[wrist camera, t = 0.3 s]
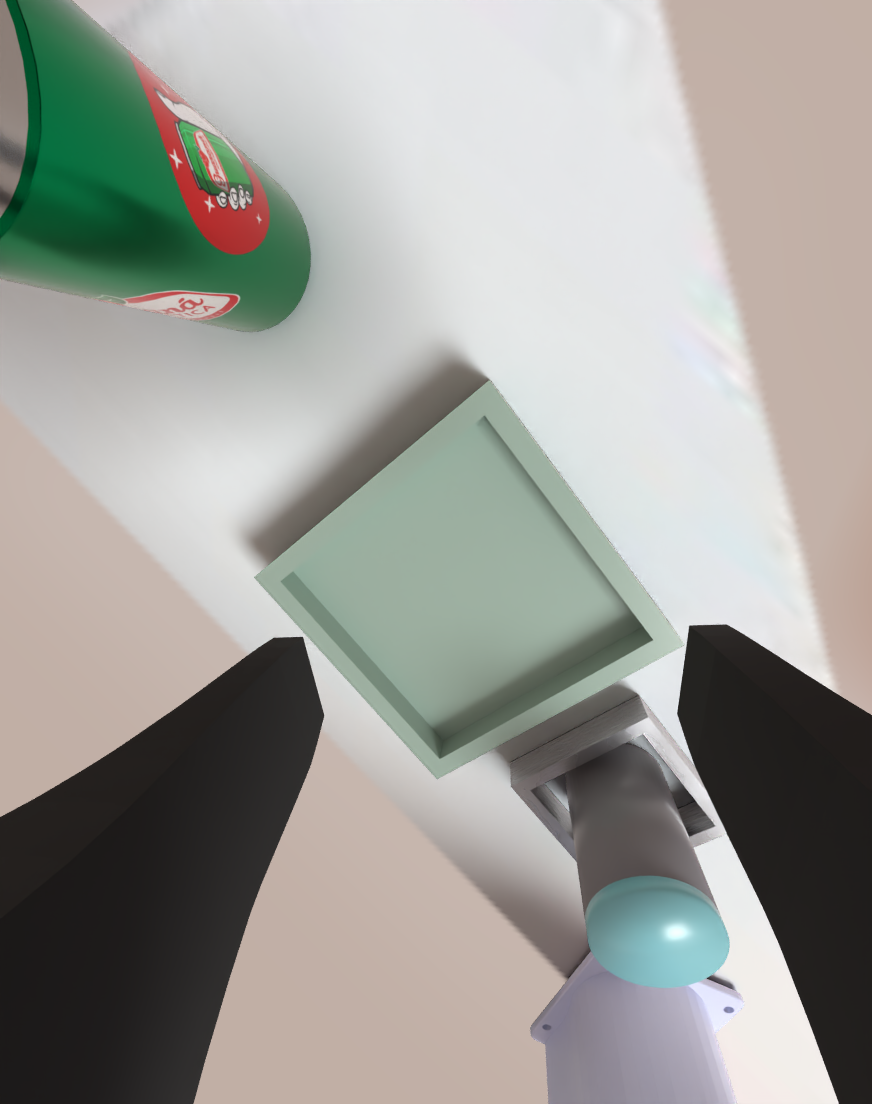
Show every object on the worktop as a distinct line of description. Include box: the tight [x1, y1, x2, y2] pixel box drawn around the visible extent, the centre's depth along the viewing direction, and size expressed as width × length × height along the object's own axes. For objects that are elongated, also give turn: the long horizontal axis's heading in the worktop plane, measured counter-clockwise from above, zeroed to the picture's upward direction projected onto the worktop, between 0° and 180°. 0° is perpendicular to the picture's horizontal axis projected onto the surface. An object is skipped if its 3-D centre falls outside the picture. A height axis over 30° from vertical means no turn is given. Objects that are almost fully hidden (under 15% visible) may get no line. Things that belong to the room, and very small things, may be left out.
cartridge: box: [565, 743, 729, 988], centre depth 19 cm, size 4×4×7 cm
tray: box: [254, 380, 684, 779], centre depth 20 cm, size 12×12×2 cm
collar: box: [511, 695, 727, 862], centre depth 22 cm, size 7×7×2 cm
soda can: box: [0, 0, 311, 332], centre depth 12 cm, size 5×5×12 cm
